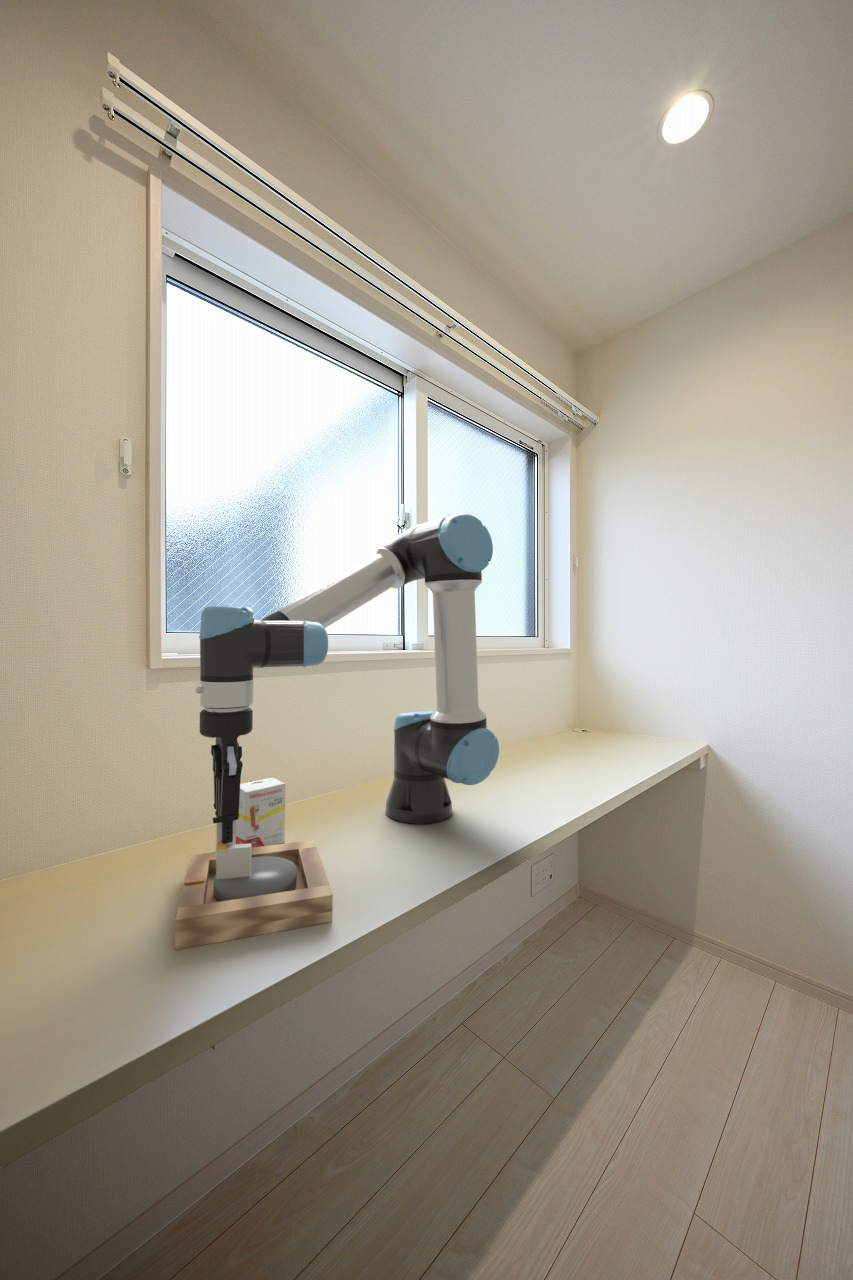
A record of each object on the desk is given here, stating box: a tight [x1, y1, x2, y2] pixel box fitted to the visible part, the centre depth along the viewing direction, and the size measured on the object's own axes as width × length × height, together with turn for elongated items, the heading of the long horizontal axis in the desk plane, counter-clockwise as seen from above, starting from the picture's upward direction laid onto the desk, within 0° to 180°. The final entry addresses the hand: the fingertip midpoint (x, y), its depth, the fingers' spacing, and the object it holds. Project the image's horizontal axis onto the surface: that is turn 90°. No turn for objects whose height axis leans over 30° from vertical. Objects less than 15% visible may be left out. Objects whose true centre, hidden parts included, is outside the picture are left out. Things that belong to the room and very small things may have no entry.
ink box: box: [236, 777, 286, 848], centre depth 96 cm, size 9×5×12 cm, turn 137°
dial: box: [213, 842, 297, 902], centre depth 77 cm, size 12×12×7 cm
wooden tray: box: [174, 839, 334, 951], centre depth 77 cm, size 20×20×4 cm
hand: (225, 860), depth 78 cm, fingers closed
